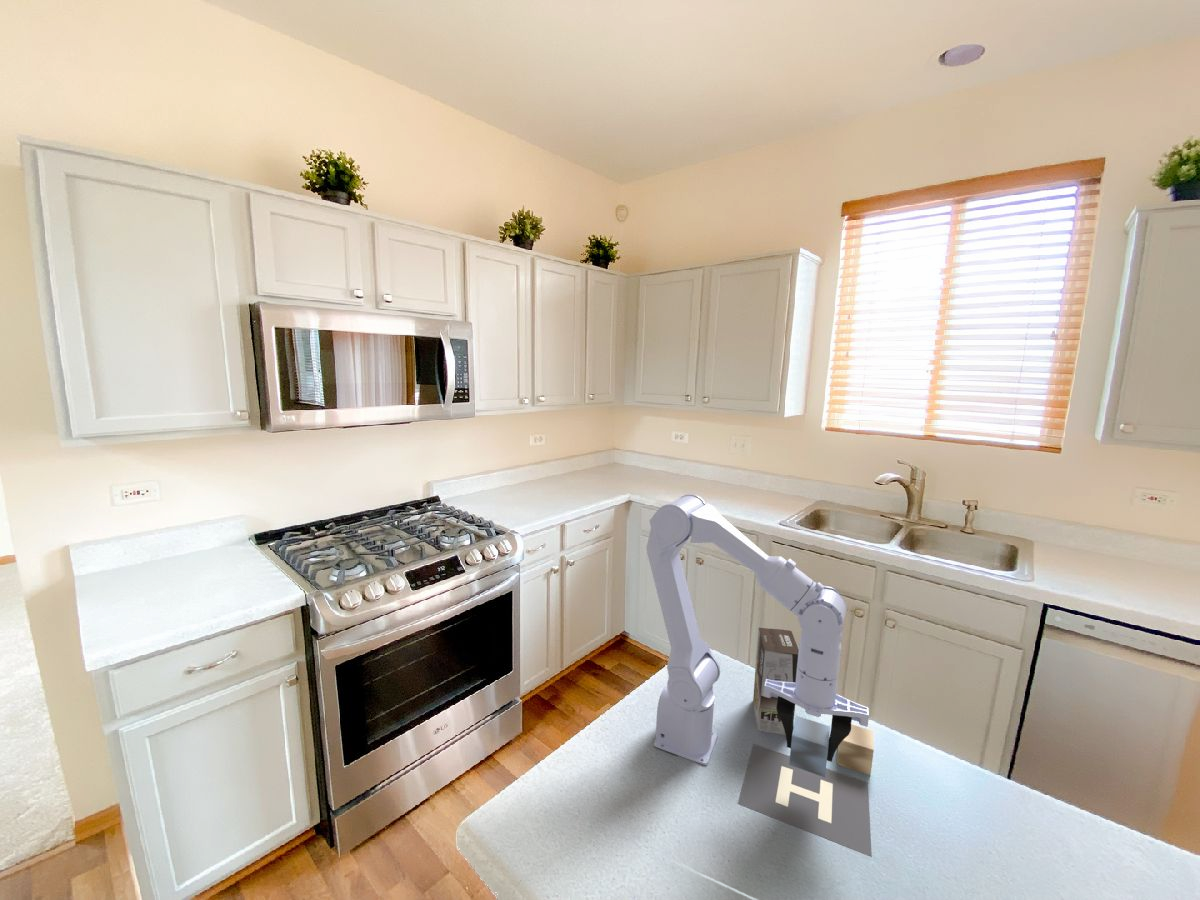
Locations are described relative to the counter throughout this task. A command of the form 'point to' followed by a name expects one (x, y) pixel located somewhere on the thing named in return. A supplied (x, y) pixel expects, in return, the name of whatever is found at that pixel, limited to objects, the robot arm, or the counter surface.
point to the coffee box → (773, 674)
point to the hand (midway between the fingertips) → (809, 750)
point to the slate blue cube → (809, 746)
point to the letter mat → (808, 799)
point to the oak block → (857, 750)
